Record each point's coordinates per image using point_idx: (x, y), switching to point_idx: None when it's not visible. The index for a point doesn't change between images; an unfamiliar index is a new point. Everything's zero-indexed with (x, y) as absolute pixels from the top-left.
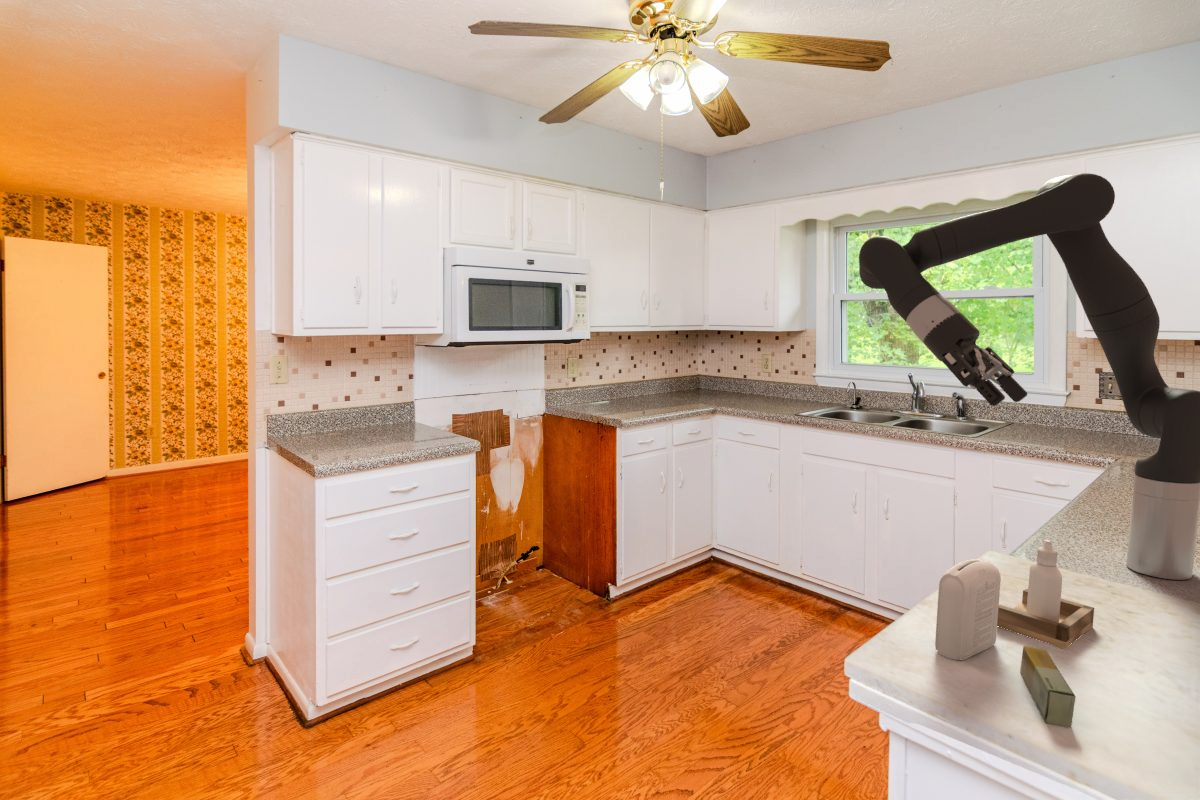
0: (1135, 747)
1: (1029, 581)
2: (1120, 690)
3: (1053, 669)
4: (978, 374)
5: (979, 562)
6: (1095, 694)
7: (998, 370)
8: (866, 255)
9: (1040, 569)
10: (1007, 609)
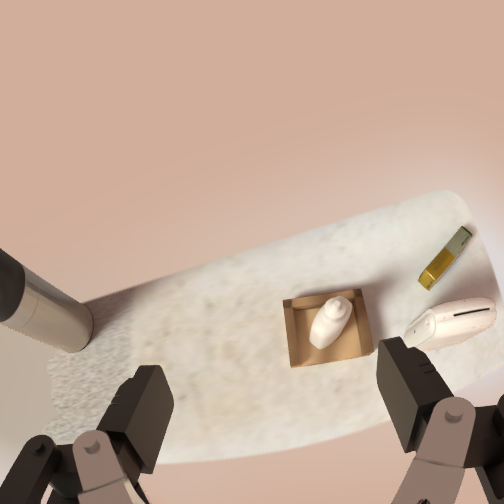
0: (438, 212)
1: (334, 336)
2: (385, 243)
3: (447, 249)
4: (501, 405)
5: (465, 306)
6: (407, 248)
7: (135, 493)
8: None
9: (347, 314)
10: (369, 341)
